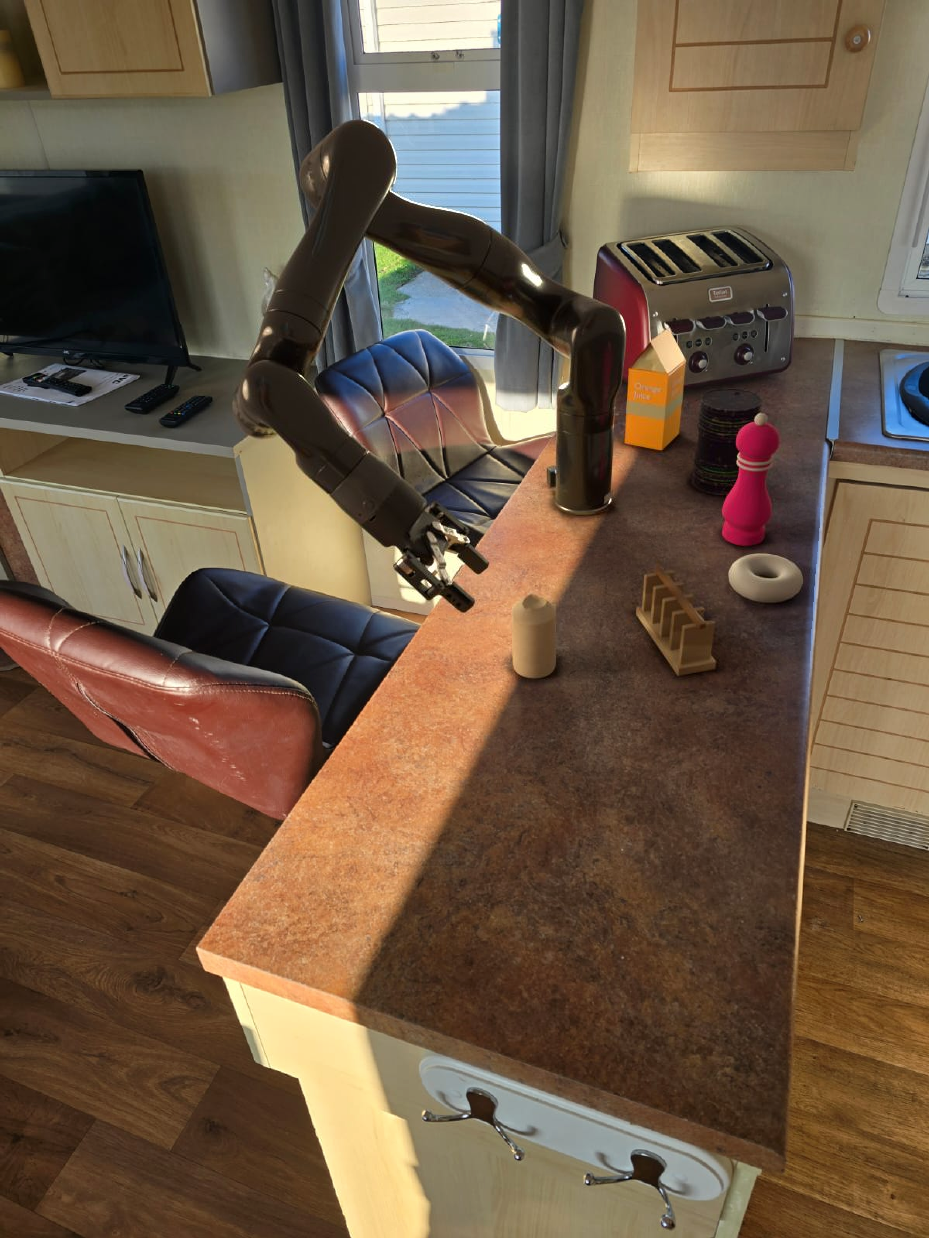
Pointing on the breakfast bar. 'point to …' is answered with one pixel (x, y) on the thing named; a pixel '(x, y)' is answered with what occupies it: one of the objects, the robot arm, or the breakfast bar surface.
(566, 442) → the robot arm
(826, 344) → the breakfast bar surface
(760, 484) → the pepper mill
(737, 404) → the storage jar
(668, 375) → the orange juice
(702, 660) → the toast rack
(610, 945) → the breakfast bar surface
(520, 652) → the candle
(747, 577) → the donut
